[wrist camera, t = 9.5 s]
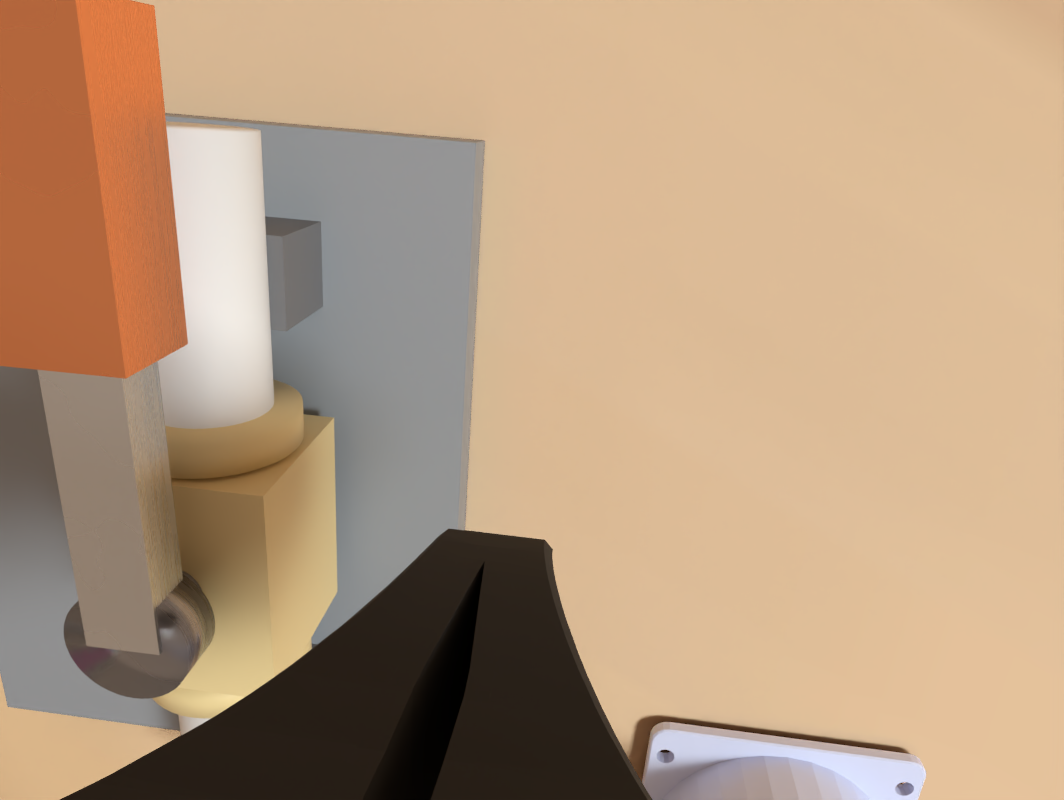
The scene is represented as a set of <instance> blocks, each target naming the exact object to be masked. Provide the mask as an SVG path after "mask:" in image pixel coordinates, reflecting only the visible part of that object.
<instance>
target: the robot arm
mask: <svg viewBox="0 0 1064 800" xmlns="http://www.w3.org/2000/svg"><path fill="white" fill-rule="evenodd" d="M552 550H553V549H552V548H551V547H550V546H549V544H548V543H547V542H546V541H545V540H541V539H533V538H525V537H516V536H508V535H499V534H491V533H483V532H474V531H466V530H457V529H447V530H446V531H445V532H443V533H442V534H441V535H439V536H438V537H437V538H436V539H435V540H434V541H433V542H432V543H431V544H430V545H429V546H428V547H427V548H426V549H425V550H424V551H423V552H422V553H421V554H420V555H419V556H418V557H417V558H416V559H415V560H414V561H413V562H412V563H411V564H410V565H409V566H408V567H407V568H406V569H405V570H404V571H403V572H401V573H400V574H399V575H398V576H397V577H396V578H395V579H394V580H393V581H392V582H391V583H390V584H389V585H388V586H386V587H385V588H384V589H383V590H382V591H381V592H380V593H379V594H377V595H376V596H375V597H374V598H373V599H372V600H371V601H369V602H368V603H367V604H366V605H365V606H364V607H363V608H362V609H360V610H359V611H358V612H357V613H356V614H355V615H354V616H352V617H351V618H350V619H349V620H348V621H346V622H345V623H344V624H343V625H342V626H340V627H339V628H338V629H336V630H335V631H334V632H333V633H331V634H330V635H329V636H328V637H326V638H325V639H324V640H322V641H321V642H320V643H319V644H317V645H316V646H315V647H314V648H312V649H311V650H310V651H308V652H307V653H306V654H305V655H303V656H302V657H301V658H300V659H298V660H297V661H296V662H294V663H293V664H292V665H290V666H289V667H287V668H286V669H285V670H283V671H282V672H280V673H279V674H278V675H276V676H275V677H274V678H272V679H271V680H269V681H268V682H266V683H265V684H264V685H262V686H261V687H259V688H258V689H256V690H255V691H253V692H252V693H250V694H249V695H247V696H246V697H244V698H243V699H241V700H240V701H238V702H236V703H235V704H233V705H232V706H230V707H229V708H227V709H226V710H224V711H223V712H221V713H219V714H218V715H216V716H214V717H213V718H211V719H209V720H208V721H206V722H204V723H203V724H201V725H199V726H197V727H196V728H194V729H192V730H190V731H188V732H187V733H185V734H183V735H181V736H179V737H178V738H176V739H174V740H172V741H170V742H169V743H167V744H165V745H163V746H161V747H160V748H158V749H156V750H154V751H152V752H151V753H149V754H147V755H145V756H143V757H141V758H140V759H138V760H136V761H134V762H132V763H131V764H129V765H127V766H125V767H123V768H122V769H120V770H118V771H116V772H114V773H113V774H111V775H109V776H107V777H105V778H103V779H101V780H99V781H97V782H95V783H93V784H91V785H89V786H87V787H85V788H83V789H81V790H79V791H77V792H75V793H73V794H71V795H69V796H66V797H64V798H62V799H60V800H918V798H919V795H920V792H921V789H922V786H923V784H924V781H925V778H926V771H925V769H924V767H923V764H922V762H921V760H920V759H919V758H918V757H916V756H915V755H911V754H907V753H899V752H892V751H884V750H877V749H869V748H862V747H854V746H847V745H839V744H832V743H824V742H817V741H809V740H802V739H794V738H787V737H779V736H772V735H764V734H756V733H749V732H741V731H734V730H726V729H719V728H711V727H704V726H696V725H689V724H681V723H674V722H661V723H659V724H656V725H655V726H654V727H653V728H652V730H651V732H650V738H649V744H648V749H647V755H646V761H645V767H644V773H643V778H642V782H641V780H640V778H639V777H638V775H637V773H636V771H635V770H634V768H633V766H632V764H631V762H630V761H629V759H628V757H627V755H626V754H625V752H624V750H623V748H622V746H621V745H620V743H619V741H618V739H617V737H616V735H615V733H614V731H613V729H612V727H611V725H610V723H609V721H608V719H607V717H606V715H605V713H604V711H603V709H602V707H601V705H600V703H599V700H598V698H597V696H596V694H595V692H594V689H593V687H592V685H591V683H590V681H589V678H588V676H587V674H586V671H585V669H584V666H583V664H582V661H581V659H580V657H579V654H578V651H577V648H576V646H575V643H574V640H573V637H572V635H571V632H570V629H569V626H568V624H567V621H566V618H565V614H564V611H563V608H562V605H561V601H560V597H559V593H558V589H557V586H556V581H555V576H554V570H553V562H552ZM661 750H669V751H670V752H668V753H662V752H660V751H661ZM902 782H906V783H904V784H899V783H902ZM897 784H899V785H897Z"/></svg>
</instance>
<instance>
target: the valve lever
mask: <svg viewBox="0 0 1064 800" xmlns="http://www.w3.org/2000/svg"><path fill="white" fill-rule="evenodd" d="M187 344H188V338H187V328H186V318H185V308H184V298H183V289H182V279H181V269H180V259H179V249H178V239H177V229H176V219H175V209H174V199H173V189H172V179H171V169H170V159H169V149H168V139H167V129H166V119H165V109H164V99H163V89H162V79H161V69H160V59H159V49H158V39H157V29H156V19H155V9H154V6H153V5H149V4H144V3H140V2H135V1H131V0H0V366H6V367H16V368H26V369H36V370H38V375H39V381H40V387H41V392H42V398H43V404H44V409H45V415H46V420H47V426H48V432H49V437H50V443H51V449H52V454H53V460H54V466H55V471H56V477H57V482H58V488H59V494H60V499H61V505H62V511H63V516H64V522H65V528H66V533H67V539H68V544H69V550H70V556H71V561H72V567H73V573H74V578H75V584H76V590H77V595H78V602H76V603H75V604H74V606H73V607H72V608H71V609H70V611H69V612H68V614H67V616H66V619H65V622H64V640H65V644H66V647H67V649H68V652H69V654H70V656H71V658H72V659H73V661H74V662H75V664H76V665H77V666H78V667H79V669H80V670H81V671H82V672H83V673H84V674H85V675H86V676H87V677H88V678H90V679H91V680H92V681H94V682H95V683H96V684H98V685H100V686H101V687H103V688H105V689H107V690H109V691H111V692H113V693H116V694H118V695H122V696H125V697H131V698H139V699H149V698H156V697H160V696H163V695H165V694H168V693H170V692H171V691H173V690H174V689H176V688H177V687H178V686H179V685H180V684H181V682H182V681H183V680H184V678H185V677H186V676H187V674H188V673H189V672H190V670H191V669H192V668H193V666H194V665H195V664H196V662H197V661H198V660H199V658H200V657H201V656H202V654H203V653H204V652H205V650H206V649H207V648H208V646H209V645H210V643H211V641H212V639H213V636H214V633H215V618H214V613H213V610H212V607H211V605H210V603H209V601H208V599H207V597H206V596H205V594H204V593H203V592H202V591H201V589H200V588H199V587H198V586H197V585H196V584H195V583H194V582H193V581H192V580H190V579H189V578H188V577H187V576H185V575H184V574H182V566H181V558H180V549H179V541H178V532H177V523H176V515H175V506H174V498H173V489H172V480H171V472H170V463H169V455H168V446H167V437H166V429H165V420H164V412H163V403H162V394H161V386H160V377H159V369H158V361H159V360H160V359H162V358H164V357H166V356H167V355H169V354H171V353H173V352H175V351H176V350H178V349H180V348H182V347H184V346H185V345H187Z"/></svg>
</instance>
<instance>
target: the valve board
mask: <svg viewBox="0 0 1064 800" xmlns="http://www.w3.org/2000/svg"><path fill="white" fill-rule="evenodd" d="M165 119H166V129H167V139H168V149H169V159H170V169H171V179H172V189H173V199H174V209H175V219H176V229H177V239H178V249H179V259H180V269H181V279H182V289H183V298H184V308H185V318H186V328H187V338H188V344H187V345H185V346H184V347H182V348H180V349H178V350H176V351H175V352H173V353H171V354H169V355H167V356H166V357H164V358H162V359H160V360H159V361H158V369H159V377H160V386H161V394H162V403H163V412H164V420H165V429H166V437H167V446H168V455H169V463H170V472H171V480H172V489H173V498H174V506H175V515H176V523H177V532H178V541H179V549H180V558H181V566H182V574H184V575H185V576H187V577H188V578H189V579H190V580H192V581H193V582H194V583H195V584H196V585H197V586H198V587H199V588H200V589H201V591H202V592H203V593H204V594H205V596H206V597H207V599H208V601H209V603H210V605H211V607H212V610H213V613H214V618H215V633H214V636H213V639H212V641H211V643H210V645H209V646H208V648H207V649H206V650H205V652H204V653H203V654H202V656H201V657H200V658H199V660H198V661H197V662H196V664H195V665H194V666H193V668H192V669H191V670H190V672H189V673H188V674H187V676H186V677H185V678H184V680H183V681H182V682H181V684H180V685H179V686H178V687H177V688H176V689H174V690H173V691H171V692H170V693H168V694H165V695H163V696H160V697H156V698H149V699H139V698H131V697H125V696H122V695H118V694H116V693H113V692H111V691H109V690H107V689H105V688H103V687H101V686H100V685H98V684H96V683H95V682H94V681H92V680H91V679H90V678H88V677H87V676H86V675H85V674H84V673H83V672H82V671H81V670H80V669H79V667H78V666H77V665H76V664H75V662H74V661H73V659H72V658H71V656H70V654H69V652H68V649H67V647H66V644H65V640H64V622H65V619H66V616H67V614H68V612H69V611H70V609H71V608H72V607H73V606H74V604H75V603H76V602H78V595H77V590H76V584H75V578H74V573H73V567H72V561H71V556H70V550H69V544H68V539H67V533H66V528H65V522H64V516H63V511H62V505H61V499H60V494H59V488H58V482H57V477H56V471H55V466H54V460H53V454H52V449H51V443H50V437H49V432H48V426H47V420H46V415H45V409H44V404H43V398H42V392H41V387H40V381H39V375H38V370H36V369H26V368H16V367H6V366H0V674H1V678H2V683H3V687H4V692H5V696H6V701H7V705H8V707H13V708H20V709H28V710H35V711H42V712H49V713H56V714H63V715H71V716H78V717H85V718H92V719H99V720H106V721H114V722H121V723H128V724H135V725H142V726H149V727H157V728H164V729H171V730H178V731H180V733H181V735H183V734H185V733H187V732H188V731H190V730H192V729H194V728H196V727H197V726H199V725H201V724H203V723H204V722H206V721H208V720H209V719H211V718H213V717H214V716H216V715H218V714H219V713H221V712H223V711H224V710H226V709H227V708H229V707H230V706H232V705H233V704H235V703H236V702H238V701H240V700H241V699H243V698H244V697H246V696H247V695H249V694H250V693H252V692H253V691H255V690H256V689H258V688H259V687H261V686H262V685H264V684H265V683H266V682H268V681H269V680H271V679H272V678H274V677H275V676H276V675H278V674H279V673H280V672H282V671H283V670H285V669H286V668H287V667H289V666H290V665H292V664H293V663H294V662H296V661H297V660H298V659H300V658H301V657H302V656H303V655H305V654H306V653H307V652H308V651H310V650H311V649H312V648H314V647H315V646H316V645H317V644H319V643H320V642H321V641H322V640H324V639H325V638H326V637H328V636H329V635H330V634H331V633H333V632H334V631H335V630H336V629H338V628H339V627H340V626H342V625H343V624H344V623H345V622H346V621H348V620H349V619H350V618H351V617H352V616H354V615H355V614H356V613H357V612H358V611H359V610H360V609H362V608H363V607H364V606H365V605H366V604H367V603H368V602H369V601H371V600H372V599H373V598H374V597H375V596H376V595H377V594H379V593H380V592H381V591H382V590H383V589H384V588H385V587H386V586H388V585H389V584H390V583H391V582H392V581H393V580H394V579H395V578H396V577H397V576H398V575H399V574H400V573H401V572H403V571H404V570H405V569H406V568H407V567H408V566H409V565H410V564H411V563H412V562H413V561H414V560H415V559H416V558H417V557H418V556H419V555H420V554H421V553H422V552H423V551H424V550H425V549H426V548H427V547H428V546H429V545H430V544H431V543H432V542H433V541H434V540H435V539H436V538H437V537H438V536H439V535H441V534H442V533H443V532H445V531H446V530H447V529H457V530H465V517H466V498H467V478H468V459H469V439H470V420H471V400H472V381H473V361H474V341H475V322H476V302H477V283H478V263H479V244H480V224H481V205H482V185H483V165H484V146H485V141H484V140H472V139H460V138H449V137H437V136H425V135H414V134H402V133H390V132H379V131H367V130H355V129H344V128H332V127H321V126H309V125H297V124H286V123H274V122H262V121H251V120H239V119H227V118H216V117H204V116H192V115H181V114H169V113H165Z"/></svg>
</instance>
